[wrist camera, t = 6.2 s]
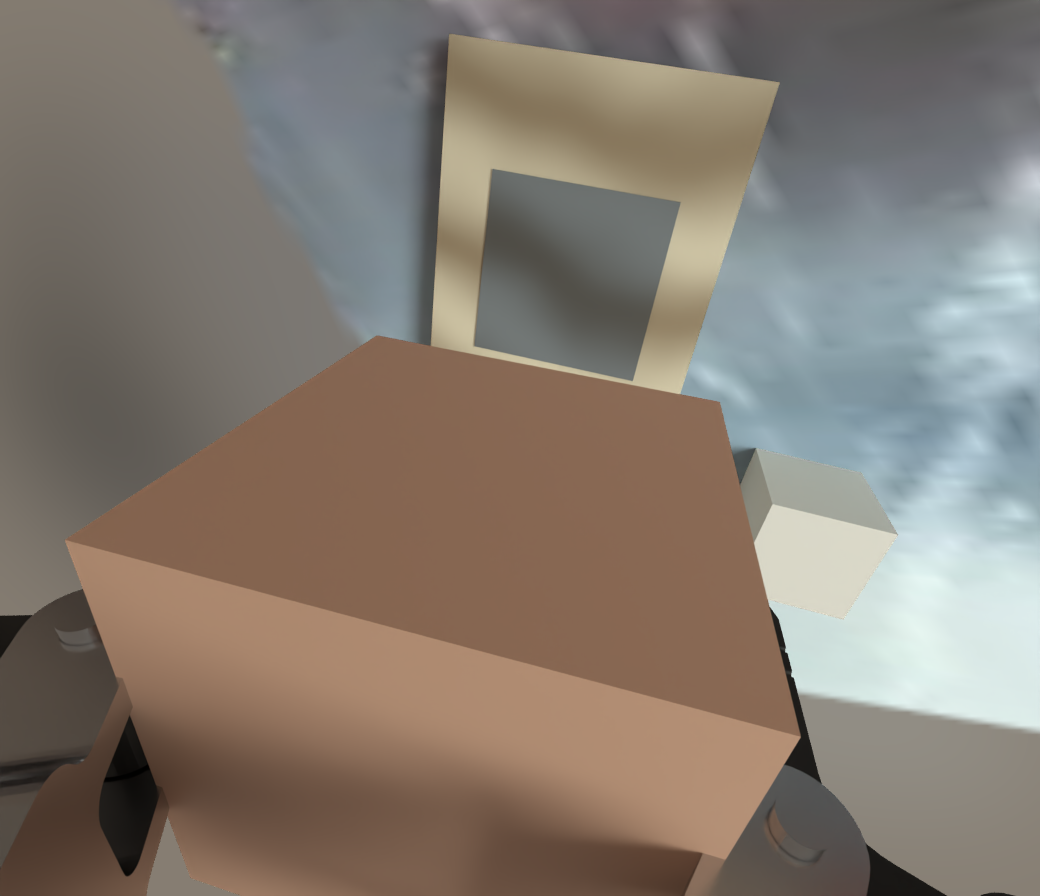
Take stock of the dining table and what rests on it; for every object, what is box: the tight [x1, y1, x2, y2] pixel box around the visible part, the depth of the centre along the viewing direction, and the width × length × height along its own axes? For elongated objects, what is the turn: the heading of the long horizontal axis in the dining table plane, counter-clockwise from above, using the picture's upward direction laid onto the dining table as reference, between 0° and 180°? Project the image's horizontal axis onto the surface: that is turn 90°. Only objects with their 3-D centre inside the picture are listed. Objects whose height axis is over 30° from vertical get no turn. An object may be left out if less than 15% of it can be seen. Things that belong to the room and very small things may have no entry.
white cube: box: [740, 448, 898, 619], centre depth 26 cm, size 5×5×5 cm
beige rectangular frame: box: [431, 34, 780, 394], centre depth 24 cm, size 16×12×2 cm
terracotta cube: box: [65, 336, 801, 896], centre depth 8 cm, size 6×6×6 cm
